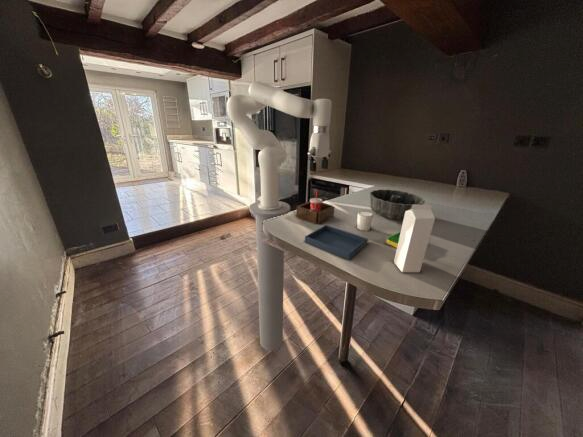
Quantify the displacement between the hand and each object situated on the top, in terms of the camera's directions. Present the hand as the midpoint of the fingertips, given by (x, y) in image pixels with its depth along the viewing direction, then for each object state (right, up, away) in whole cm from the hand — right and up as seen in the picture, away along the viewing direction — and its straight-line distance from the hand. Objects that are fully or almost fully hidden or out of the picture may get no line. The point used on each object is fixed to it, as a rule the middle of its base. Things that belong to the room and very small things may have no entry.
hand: (318, 169), depth 107 cm
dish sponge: (+33, -32, -14) cm, 48 cm away
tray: (+5, -32, -16) cm, 37 cm away
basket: (-1, -22, +9) cm, 24 cm away
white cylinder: (+20, -27, -2) cm, 34 cm away
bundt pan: (+41, -20, +16) cm, 49 cm away
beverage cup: (-1, -22, +9) cm, 24 cm away
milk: (+26, -39, -30) cm, 56 cm away
